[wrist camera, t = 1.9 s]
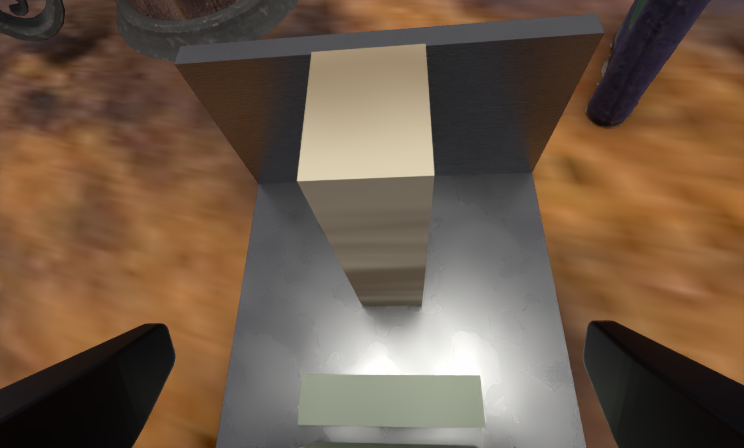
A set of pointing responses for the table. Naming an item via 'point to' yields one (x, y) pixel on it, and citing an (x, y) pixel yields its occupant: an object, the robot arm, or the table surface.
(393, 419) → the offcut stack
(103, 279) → the table surface
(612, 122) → the flask
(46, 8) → the tankard
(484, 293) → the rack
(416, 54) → the birch block
